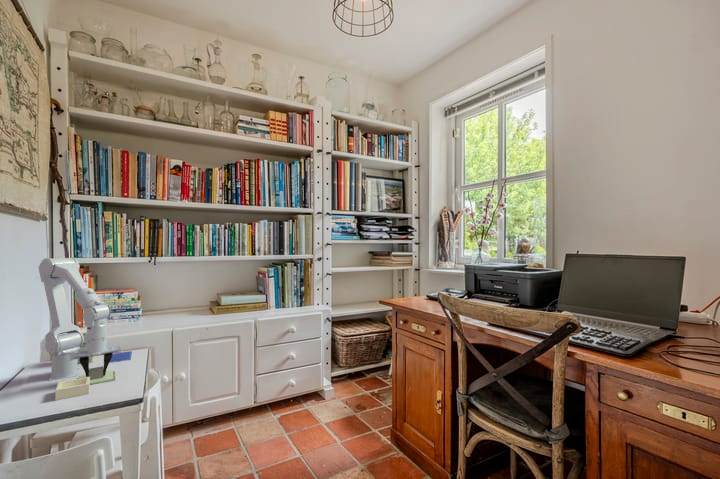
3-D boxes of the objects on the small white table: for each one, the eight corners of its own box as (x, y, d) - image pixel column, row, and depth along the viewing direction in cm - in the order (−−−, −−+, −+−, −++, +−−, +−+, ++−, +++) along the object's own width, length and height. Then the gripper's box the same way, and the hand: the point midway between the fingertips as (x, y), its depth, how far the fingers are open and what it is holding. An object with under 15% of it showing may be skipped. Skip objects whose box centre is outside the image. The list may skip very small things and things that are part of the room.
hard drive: (109, 354, 147) (106, 362, 137) (132, 350, 151) (130, 358, 141) (109, 357, 147) (106, 366, 136) (131, 354, 151) (130, 362, 141)
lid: (78, 378, 121) (79, 368, 121) (113, 371, 127) (113, 362, 127) (76, 387, 113) (76, 376, 113) (113, 380, 119) (113, 370, 119)
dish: (58, 392, 110) (58, 382, 110) (89, 386, 115) (90, 376, 115) (55, 401, 103) (55, 390, 103) (88, 394, 108) (88, 384, 108)
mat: (77, 379, 121) (77, 377, 121) (114, 372, 128) (114, 371, 128) (74, 389, 113) (74, 388, 113) (115, 381, 119) (115, 380, 119)
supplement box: (70, 364, 137) (70, 333, 137) (77, 359, 143) (77, 329, 144) (92, 362, 140) (93, 331, 140) (98, 356, 146) (98, 327, 147)
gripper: (69, 344, 113) (68, 384, 113) (121, 337, 122) (121, 374, 121) (71, 339, 119) (70, 378, 118) (121, 333, 127) (120, 369, 127)
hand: (96, 376), depth 120 cm, fingers closed on lid, 4 cm apart
